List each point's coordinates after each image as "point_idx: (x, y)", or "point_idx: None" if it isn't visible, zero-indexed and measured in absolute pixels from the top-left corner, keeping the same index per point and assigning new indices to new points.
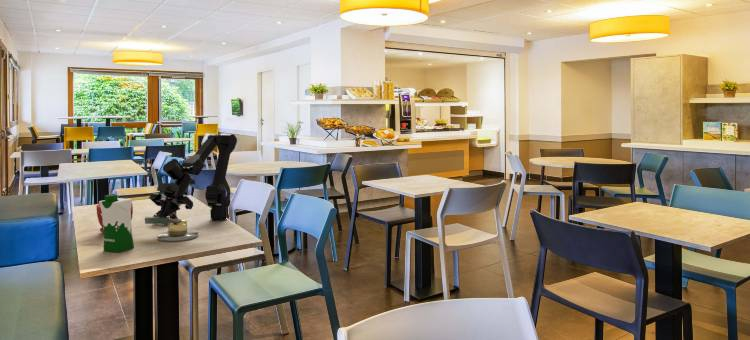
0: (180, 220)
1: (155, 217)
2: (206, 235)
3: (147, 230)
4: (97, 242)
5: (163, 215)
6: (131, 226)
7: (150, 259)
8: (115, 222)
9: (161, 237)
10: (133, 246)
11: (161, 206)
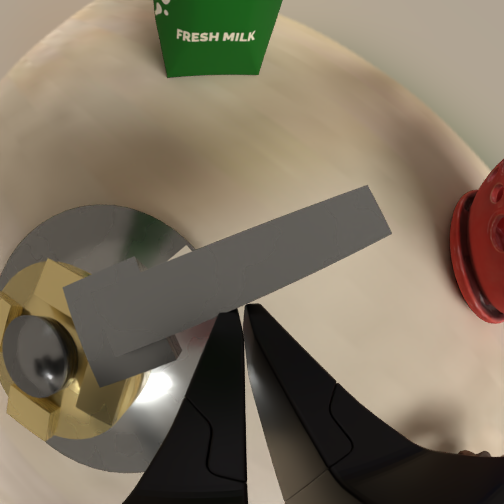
0: (5, 359)
1: (268, 244)
2: (6, 426)
3: (419, 368)
4: (388, 104)
5: (210, 342)
6: (480, 313)
7: (28, 53)
8: None
9: (132, 228)
10: (166, 70)
11: (383, 434)
